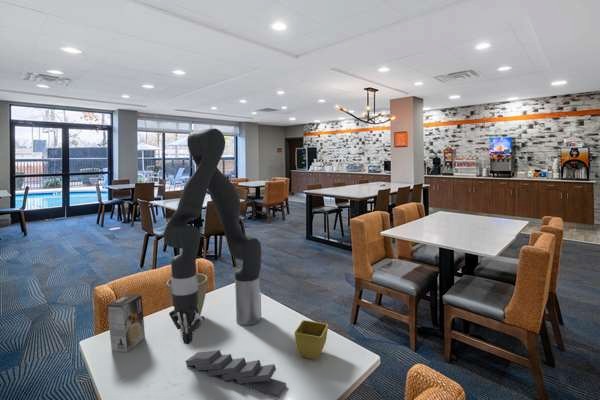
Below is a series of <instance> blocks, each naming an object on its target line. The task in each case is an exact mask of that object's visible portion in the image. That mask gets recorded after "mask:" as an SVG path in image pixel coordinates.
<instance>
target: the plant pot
mask: <svg viewBox="0 0 600 400" xmlns="http://www.w3.org/2000/svg"><path fill="white" fill-rule="evenodd" d="M196 275H197V281H198V299H199V301H198V304H197V309H198V314H199V315H200V316H202V315H201V314H202V311H203V307H204V303H205V300H206V299H205V298H206V294H207V293H206V292H207V286H208V276H207V275H206V274H203V273H197V272H196ZM166 284H167V288H168V291H169V292H168V293H169V296H170V301H171V303H172V304H173V301H172V277H171V278H170V279H168V281H167V282H166Z"/></svg>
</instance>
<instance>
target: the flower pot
mask: <svg viewBox="0 0 600 400" xmlns="http://www.w3.org/2000/svg"><path fill="white" fill-rule="evenodd" d="M328 331H329V324H328V323H323V322H317V321H311V320H304V319H303V320H301V322H300V324H299V326H297V328H296V329H295V331H294V338H295V345H296V346H295V347H296V349H297V351H298V353H299V355H300V356H301V357H303V358H306V359H310V360H316V361H317V360H318V359H319V357H320V355H321V354H322V351H323V349H324V348H325V345H326V342H327V338H328V337H327V336H328Z"/></svg>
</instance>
